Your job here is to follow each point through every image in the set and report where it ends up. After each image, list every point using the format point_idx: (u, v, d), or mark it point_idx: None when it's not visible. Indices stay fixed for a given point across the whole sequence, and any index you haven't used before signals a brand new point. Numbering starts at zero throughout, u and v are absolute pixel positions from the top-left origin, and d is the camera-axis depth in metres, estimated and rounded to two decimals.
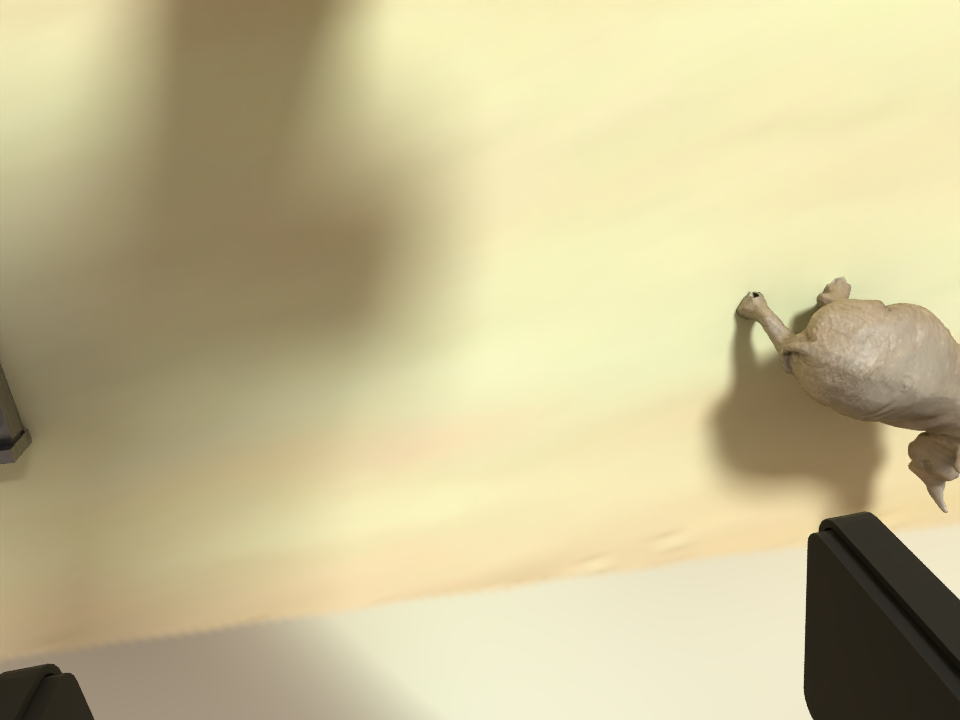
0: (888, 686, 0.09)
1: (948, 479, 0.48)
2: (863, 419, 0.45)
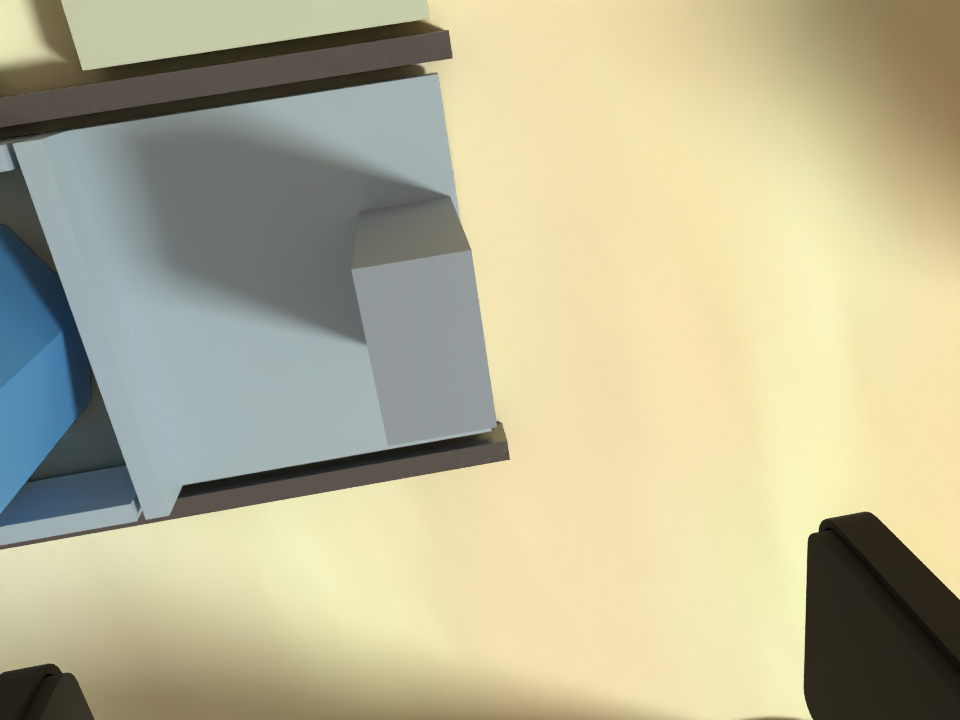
0: (888, 686, 0.09)
1: None
2: None
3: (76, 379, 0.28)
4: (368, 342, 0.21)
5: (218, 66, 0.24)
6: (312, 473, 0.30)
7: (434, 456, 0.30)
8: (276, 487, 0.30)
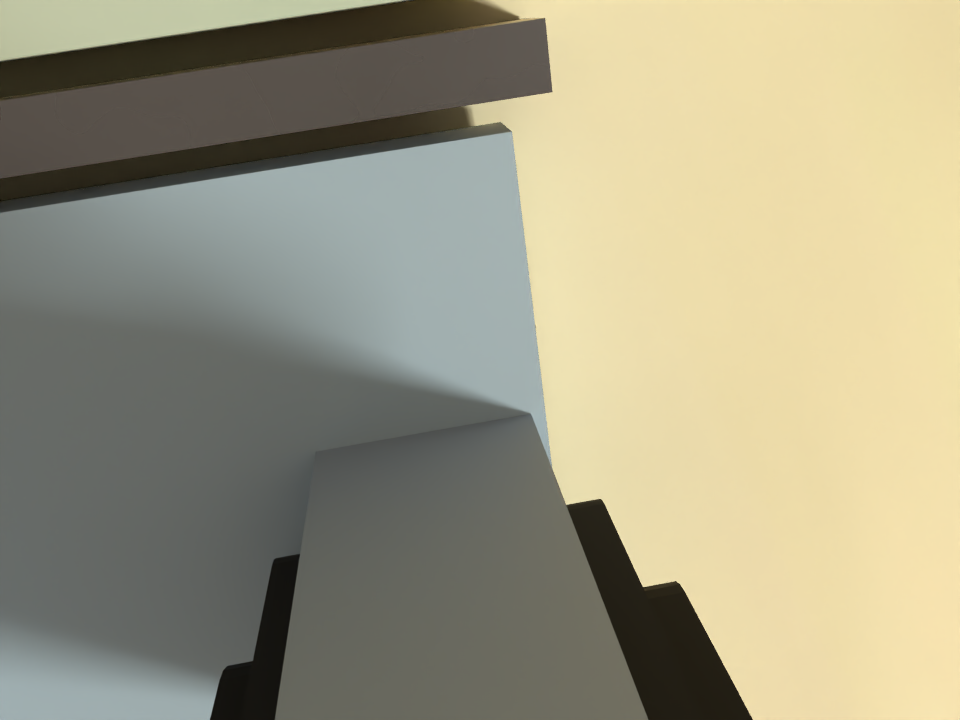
0: None
1: None
2: None
3: None
4: None
5: None
6: None
7: None
8: None
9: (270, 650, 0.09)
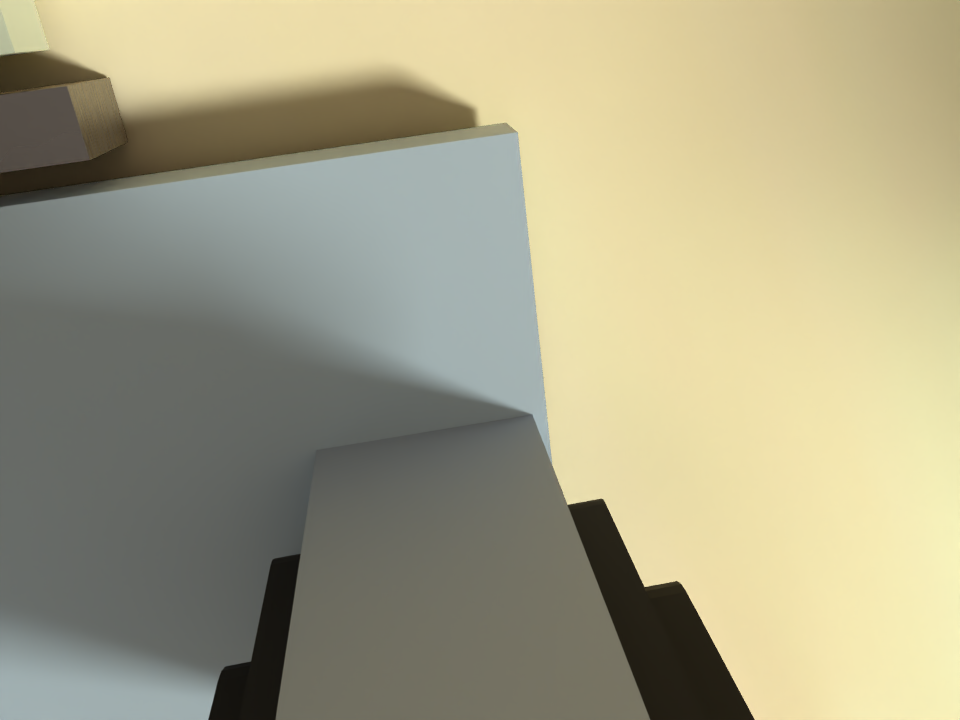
0: None
1: None
2: None
3: None
4: None
5: None
6: None
7: None
8: None
9: (268, 650, 0.09)
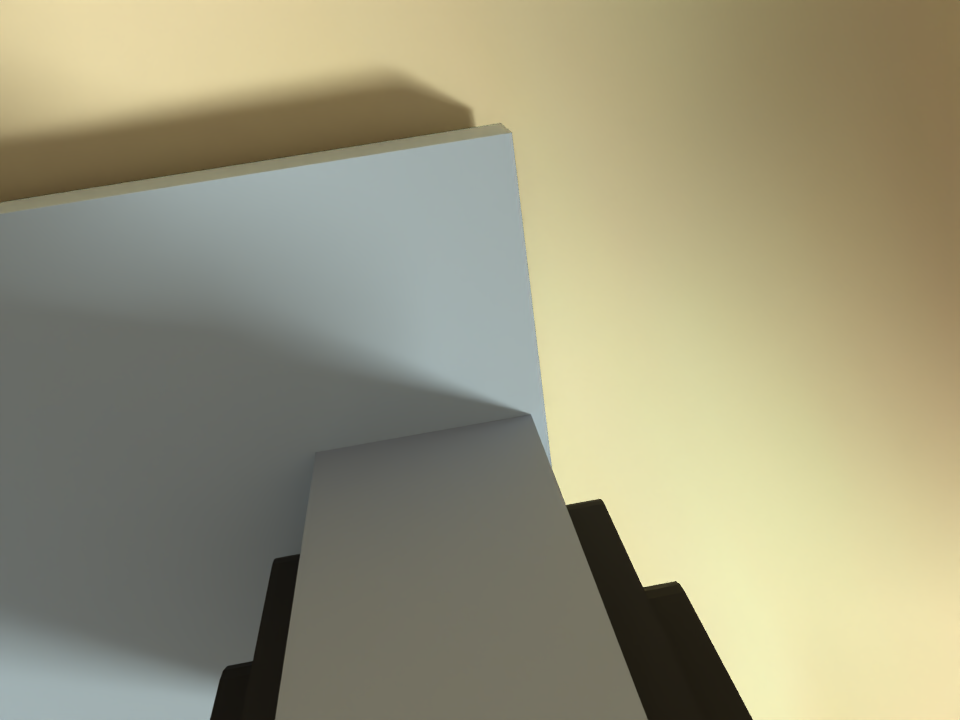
0: None
1: None
2: None
3: None
4: None
5: None
6: None
7: None
8: None
9: (270, 650, 0.09)
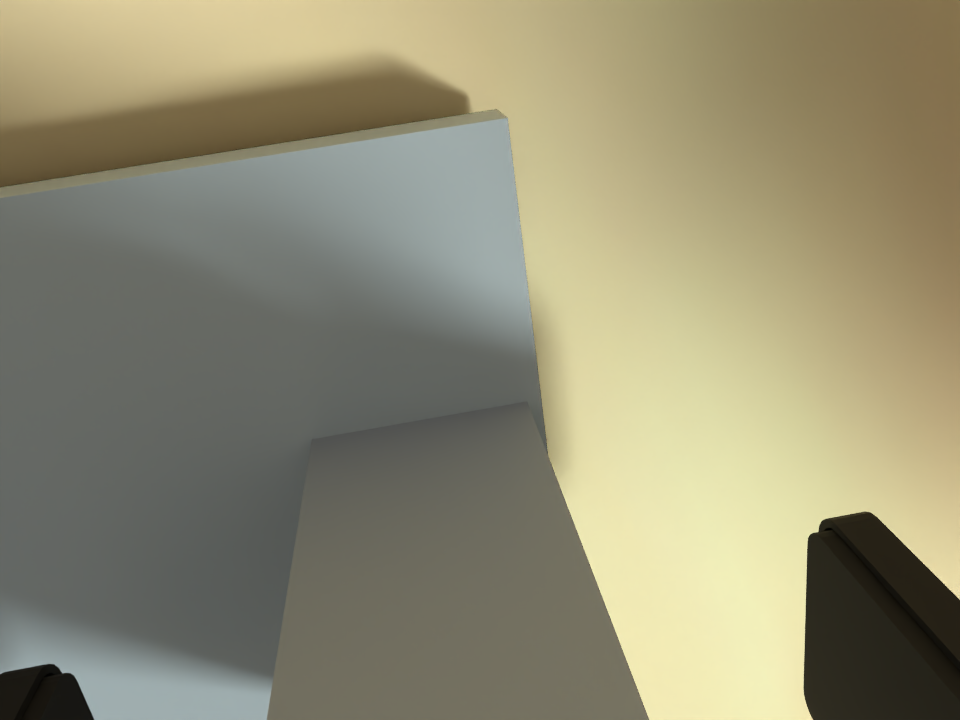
0: (888, 686, 0.09)
1: None
2: None
3: None
4: None
5: None
6: None
7: None
8: None
9: None
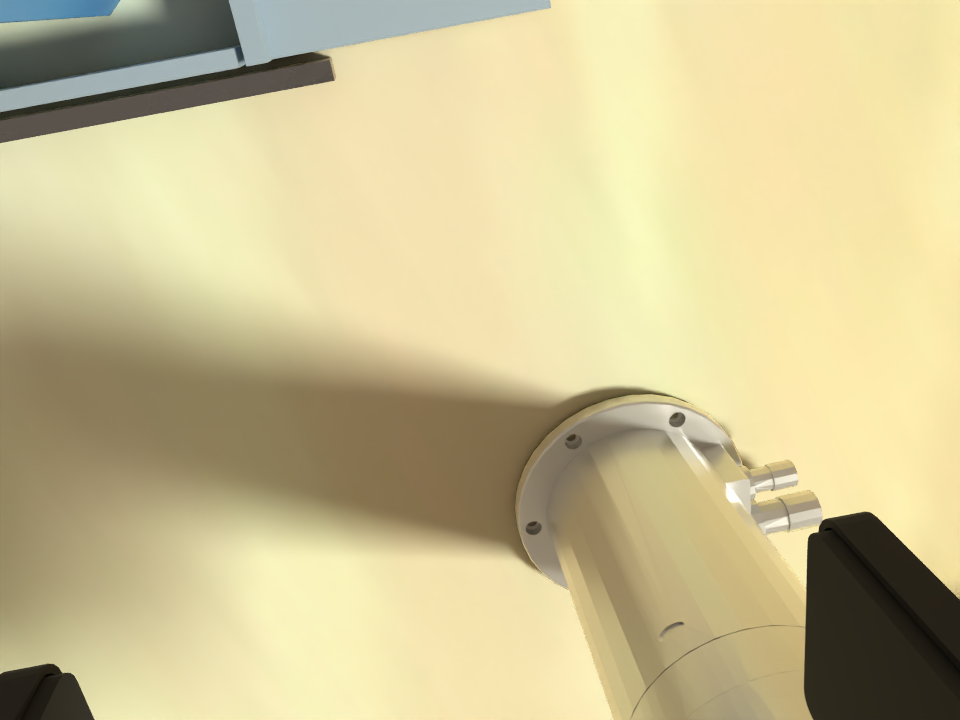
0: (888, 686, 0.09)
1: None
2: None
3: None
4: None
5: None
6: (150, 92, 0.32)
7: (262, 75, 0.32)
8: (117, 106, 0.32)
9: None
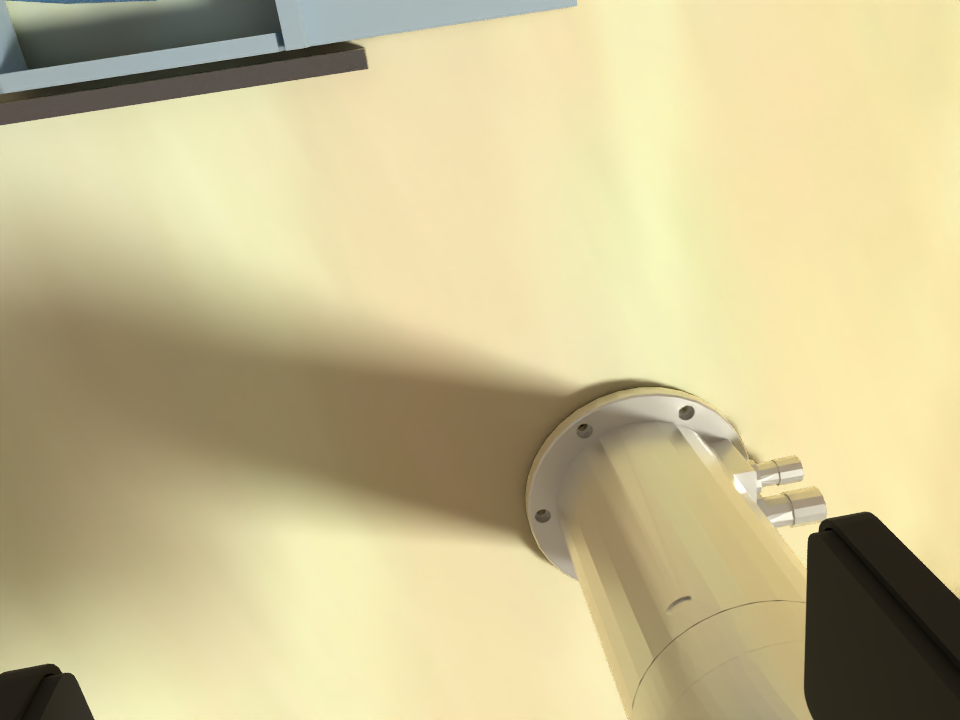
0: (888, 686, 0.09)
1: None
2: None
3: None
4: None
5: None
6: (192, 74, 0.34)
7: (299, 61, 0.34)
8: (159, 86, 0.34)
9: None
